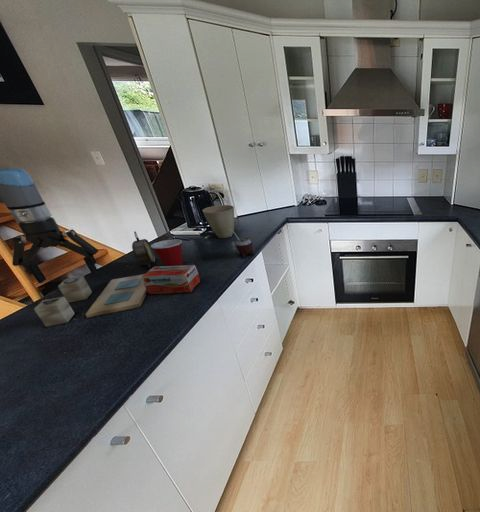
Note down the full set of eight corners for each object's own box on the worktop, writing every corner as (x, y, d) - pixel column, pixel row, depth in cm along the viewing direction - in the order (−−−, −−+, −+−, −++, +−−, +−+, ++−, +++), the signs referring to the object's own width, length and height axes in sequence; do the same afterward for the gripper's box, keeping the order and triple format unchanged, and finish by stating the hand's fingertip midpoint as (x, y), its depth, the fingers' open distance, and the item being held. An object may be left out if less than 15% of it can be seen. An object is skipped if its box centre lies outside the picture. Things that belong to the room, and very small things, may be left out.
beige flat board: (87, 317, 90) (84, 313, 89) (113, 282, 109) (111, 279, 108) (140, 306, 95) (138, 303, 94) (156, 275, 114) (154, 271, 114)
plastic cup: (193, 260, 127) (185, 236, 121) (184, 271, 117) (175, 246, 112) (166, 262, 124) (157, 238, 119) (155, 274, 115) (144, 248, 110)
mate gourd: (256, 252, 136) (250, 223, 129) (249, 259, 129) (242, 229, 122) (242, 251, 136) (235, 223, 129) (233, 258, 129) (226, 229, 122)
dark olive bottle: (154, 268, 119) (140, 234, 112) (139, 271, 117) (123, 237, 109) (157, 259, 127) (144, 226, 120) (142, 261, 125) (128, 228, 118)
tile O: (67, 302, 97) (57, 285, 93) (74, 295, 101) (64, 278, 97) (86, 299, 99) (76, 282, 95) (92, 292, 103) (83, 275, 99)
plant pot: (245, 232, 158) (239, 206, 151) (225, 242, 146) (217, 213, 139) (225, 229, 162) (218, 203, 155) (203, 238, 150) (195, 210, 143)
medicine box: (201, 281, 111) (195, 264, 107) (191, 292, 103) (185, 274, 100) (160, 283, 109) (153, 266, 105) (147, 295, 101) (139, 276, 98)
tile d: (45, 326, 85) (33, 308, 82) (54, 317, 89) (42, 299, 86) (67, 322, 87) (56, 304, 84) (74, 313, 91) (64, 296, 88)
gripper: (-34, 229, 78) (11, 290, 88) (82, 217, 88) (111, 273, 98) (-15, 221, 84) (25, 279, 94) (92, 211, 94) (118, 264, 104)
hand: (69, 276), depth 96 cm, fingers open, 13 cm apart
